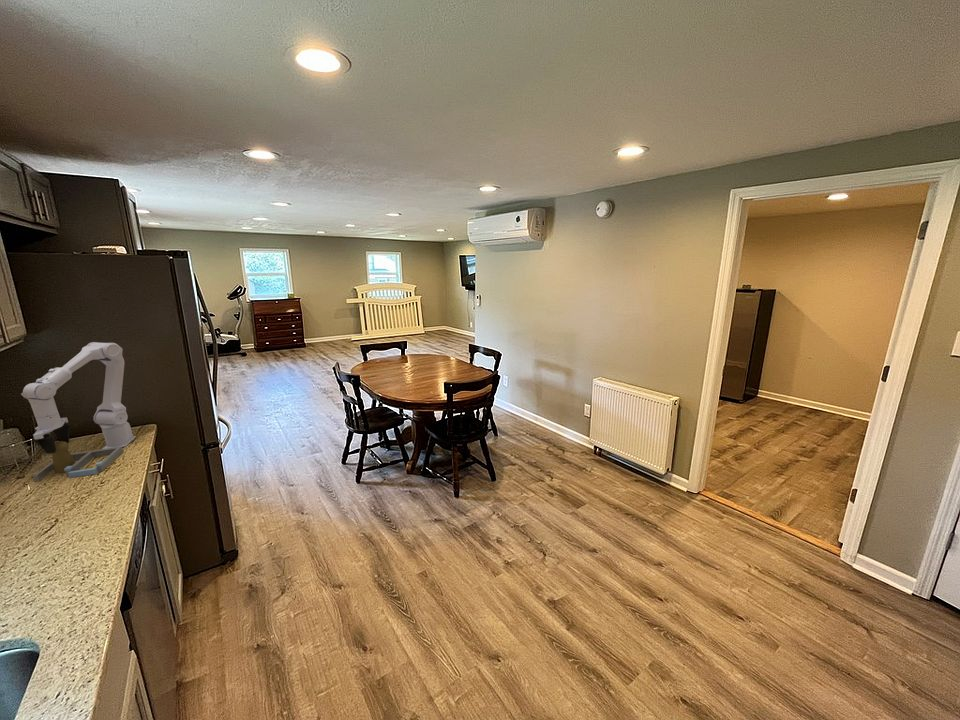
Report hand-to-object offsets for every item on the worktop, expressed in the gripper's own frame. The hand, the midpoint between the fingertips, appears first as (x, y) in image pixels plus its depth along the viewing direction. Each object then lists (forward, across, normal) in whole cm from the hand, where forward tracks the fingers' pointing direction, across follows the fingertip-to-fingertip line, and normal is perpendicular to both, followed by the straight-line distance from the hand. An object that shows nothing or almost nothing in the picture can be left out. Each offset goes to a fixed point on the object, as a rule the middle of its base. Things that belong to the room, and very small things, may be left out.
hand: (58, 448), depth 141 cm
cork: (+9, 0, 0) cm, 9 cm away
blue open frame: (+9, 0, +4) cm, 10 cm away
